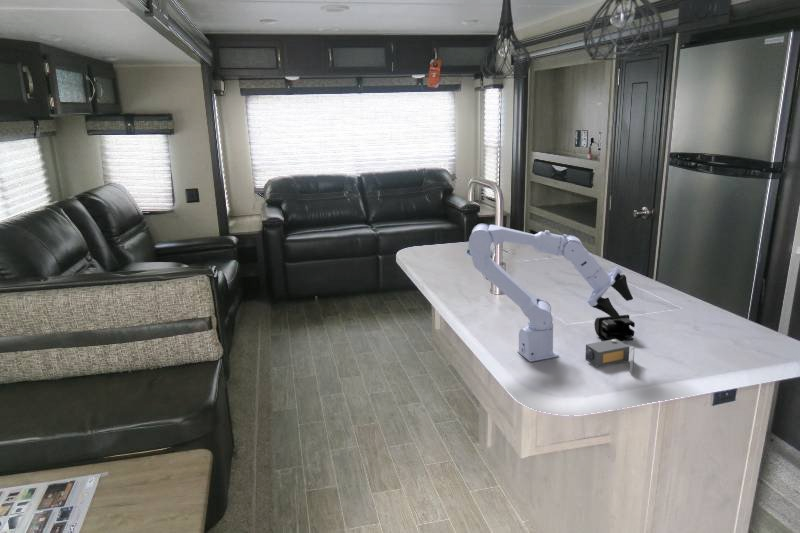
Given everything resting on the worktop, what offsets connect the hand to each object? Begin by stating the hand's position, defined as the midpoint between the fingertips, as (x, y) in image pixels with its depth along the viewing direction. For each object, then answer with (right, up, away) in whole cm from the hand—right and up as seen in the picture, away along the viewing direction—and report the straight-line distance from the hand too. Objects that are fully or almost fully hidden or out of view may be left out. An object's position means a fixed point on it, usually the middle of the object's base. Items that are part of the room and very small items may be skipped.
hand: (623, 308), depth 159 cm
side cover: (+1, -16, -3) cm, 16 cm away
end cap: (+4, -11, +18) cm, 21 cm away
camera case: (-4, -15, +2) cm, 16 cm away
